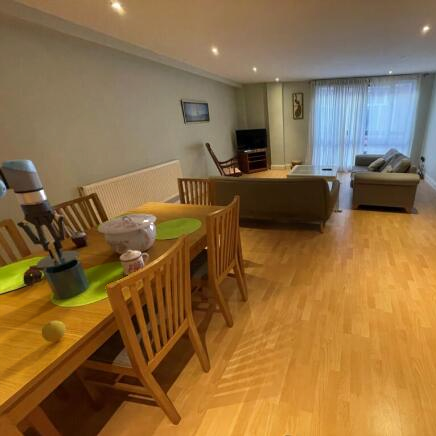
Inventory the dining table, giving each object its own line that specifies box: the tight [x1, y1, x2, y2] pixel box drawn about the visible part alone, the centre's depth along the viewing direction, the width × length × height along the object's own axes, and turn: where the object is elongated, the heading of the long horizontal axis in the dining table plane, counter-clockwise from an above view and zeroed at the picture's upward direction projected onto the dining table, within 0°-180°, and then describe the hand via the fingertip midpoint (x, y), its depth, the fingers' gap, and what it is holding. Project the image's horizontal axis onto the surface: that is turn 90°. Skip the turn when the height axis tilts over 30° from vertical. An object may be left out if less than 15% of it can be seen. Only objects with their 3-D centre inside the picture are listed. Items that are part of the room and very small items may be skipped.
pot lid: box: [36, 239, 80, 268], centre depth 98 cm, size 13×13×8 cm
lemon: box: [41, 320, 67, 343], centre depth 80 cm, size 6×6×8 cm
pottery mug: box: [22, 264, 45, 286], centre depth 111 cm, size 12×10×8 cm
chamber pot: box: [97, 213, 157, 255], centre depth 135 cm, size 28×28×21 cm
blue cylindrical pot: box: [42, 258, 90, 300], centre depth 103 cm, size 12×12×13 cm
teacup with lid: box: [119, 250, 150, 276], centre depth 117 cm, size 12×9×12 cm
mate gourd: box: [64, 225, 88, 249], centre depth 140 cm, size 8×8×15 cm
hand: (57, 256), depth 98 cm, fingers closed on pot lid, 1 cm apart
